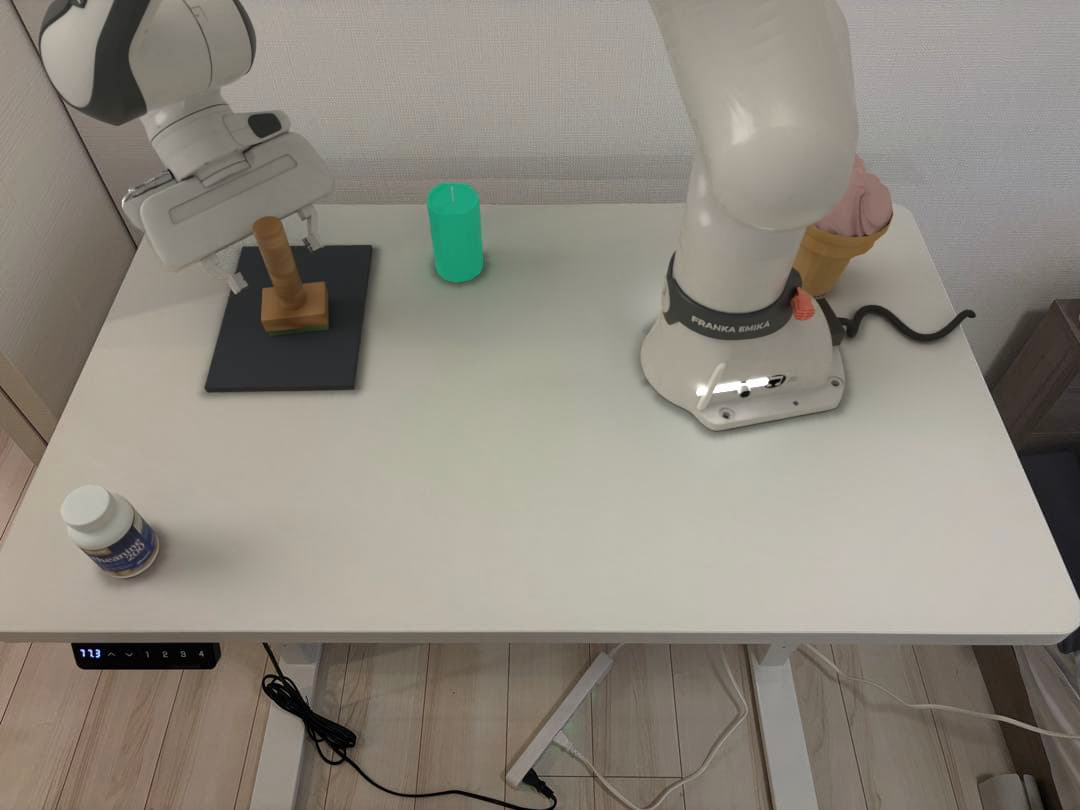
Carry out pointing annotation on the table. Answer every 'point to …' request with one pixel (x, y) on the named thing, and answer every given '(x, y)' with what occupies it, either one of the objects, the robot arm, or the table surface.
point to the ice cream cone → (844, 231)
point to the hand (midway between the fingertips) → (280, 269)
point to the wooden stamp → (287, 286)
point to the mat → (301, 357)
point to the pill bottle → (109, 531)
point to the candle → (456, 231)
